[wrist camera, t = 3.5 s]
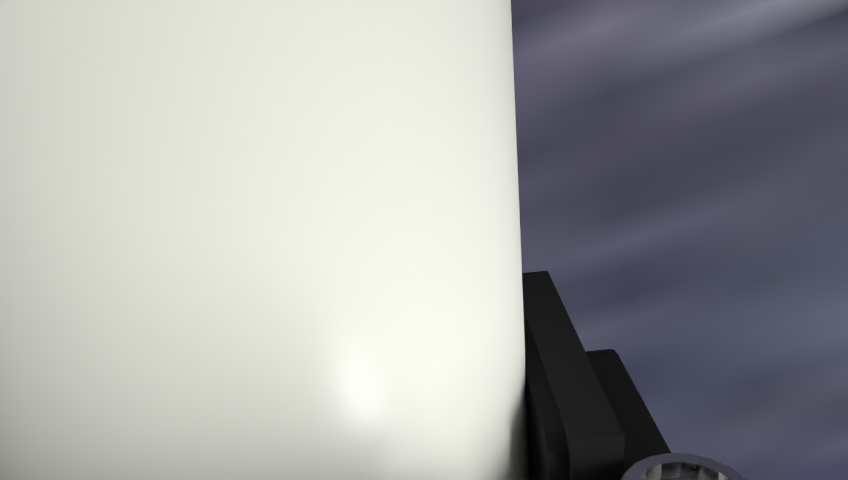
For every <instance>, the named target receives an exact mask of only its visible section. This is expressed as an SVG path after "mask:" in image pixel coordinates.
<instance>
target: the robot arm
mask: <svg viewBox="0 0 848 480" xmlns="http://www.w3.org/2000/svg"><path fill="white" fill-rule="evenodd" d="M522 288H523V312H524V336H525V377H526V401H527V425H528V448H529V472H530V480H747V479H746V478H744V477H743V476H742V475H740V474H739V473H738V472H736V471H735V470H734V469H732V468H731V467H728V466H726V465H724V464H722V463H719V462H717V461H715V460H713V459H710V458H706V457H701V456H697V455H693V454H681V453H671V452H670V450H669V448H668V446H667V444H666V442H665V441H664V439H663V437H662V435H661V433H660V431H659V430H658V428H657V426H656V424H655V422H654V420H653V418H652V417H651V415H650V413H649V411H648V409H647V407H646V406H645V404H644V402H643V400H642V398H641V396H640V394H639V393H638V391H637V389H636V387H635V385H634V383H633V382H632V380H631V378H630V376H629V374H628V372H627V370H626V369H625V367H624V365H623V363H622V361H621V359H620V358H619V356H618V354H617V353H616V352H615V350H612V349H607V350H597V351H587V352H585V350H584V348H583V346H582V344H581V342H580V339H579V337H578V335H577V333H576V331H575V329H574V327H573V324H572V322H571V320H570V318H569V316H568V314H567V312H566V309H565V307H564V305H563V303H562V301H561V299H560V297H559V294H558V292H557V290H556V288H555V286H554V284H553V282H552V279H551V277H550V275H549V273H548V272H547V271H540V272H530V273H522Z"/></svg>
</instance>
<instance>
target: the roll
mask: <svg viewBox="0 0 848 480" xmlns="http://www.w3.org/2000/svg"><path fill="white" fill-rule="evenodd" d="M0 480H530V472H529V448H528V425H527V401H526V377H525V336H524V312H523V288H522V263H521V239H520V215H519V191H518V167H517V143H516V118H515V94H514V70H513V46H512V22H511V0H0Z"/></svg>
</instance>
